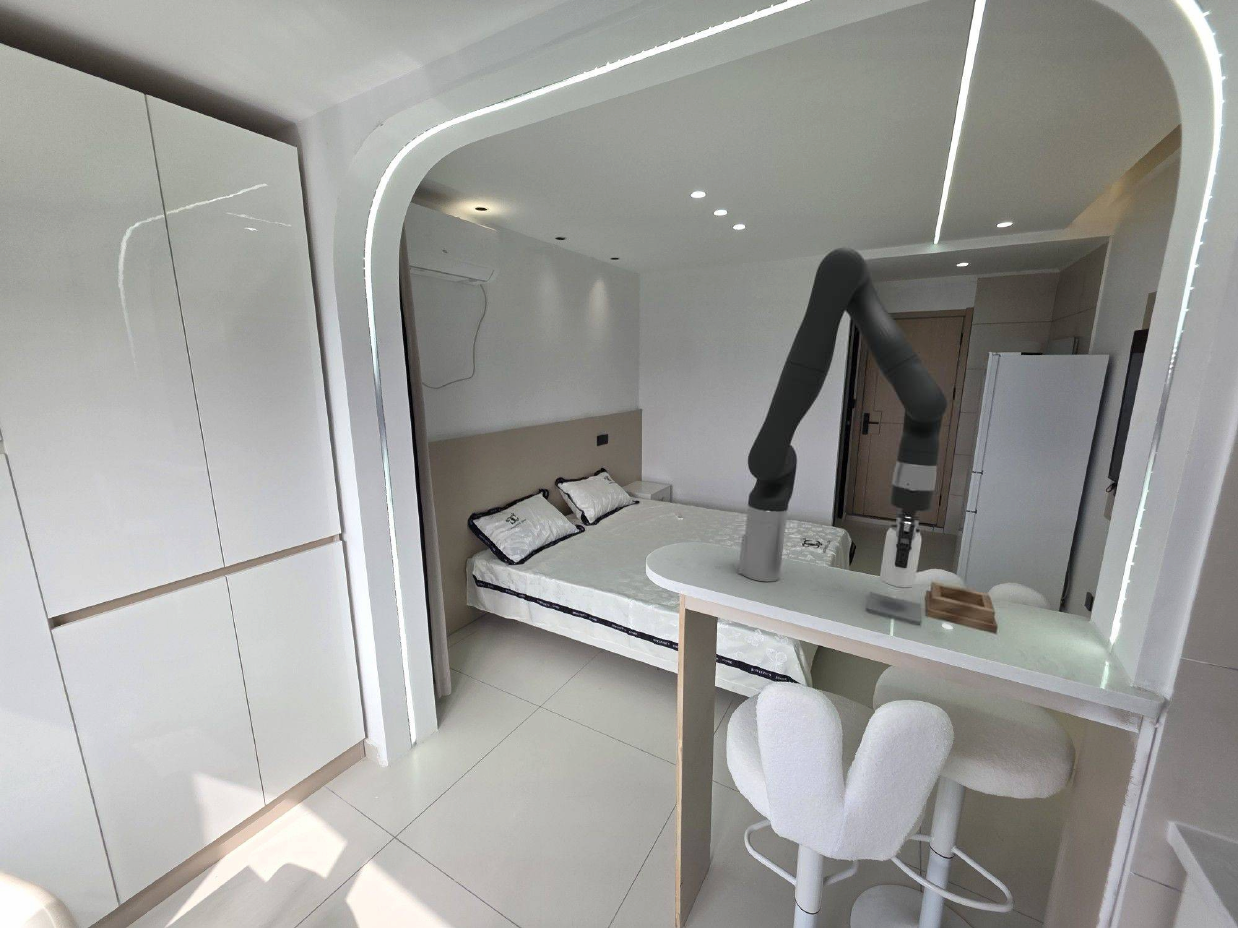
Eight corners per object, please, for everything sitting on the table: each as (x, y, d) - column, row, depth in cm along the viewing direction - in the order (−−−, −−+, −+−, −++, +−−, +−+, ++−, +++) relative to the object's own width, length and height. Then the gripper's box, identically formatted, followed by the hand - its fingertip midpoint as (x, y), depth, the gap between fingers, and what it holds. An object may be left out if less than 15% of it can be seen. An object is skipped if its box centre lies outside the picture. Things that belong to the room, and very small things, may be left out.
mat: (865, 611, 105) (865, 607, 104) (869, 595, 113) (870, 592, 113) (920, 625, 100) (920, 621, 99) (920, 607, 108) (920, 604, 108)
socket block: (925, 615, 104) (928, 598, 103) (925, 596, 114) (928, 579, 114) (996, 633, 98) (1000, 614, 97) (989, 611, 108) (992, 593, 108)
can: (894, 589, 102) (903, 533, 100) (872, 576, 108) (880, 523, 106) (921, 588, 103) (930, 533, 101) (898, 576, 109) (906, 523, 107)
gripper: (894, 477, 110) (883, 549, 112) (890, 487, 97) (878, 568, 100) (933, 482, 106) (921, 557, 109) (935, 493, 94) (921, 577, 96)
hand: (901, 562), depth 104 cm, fingers closed on can, 6 cm apart
